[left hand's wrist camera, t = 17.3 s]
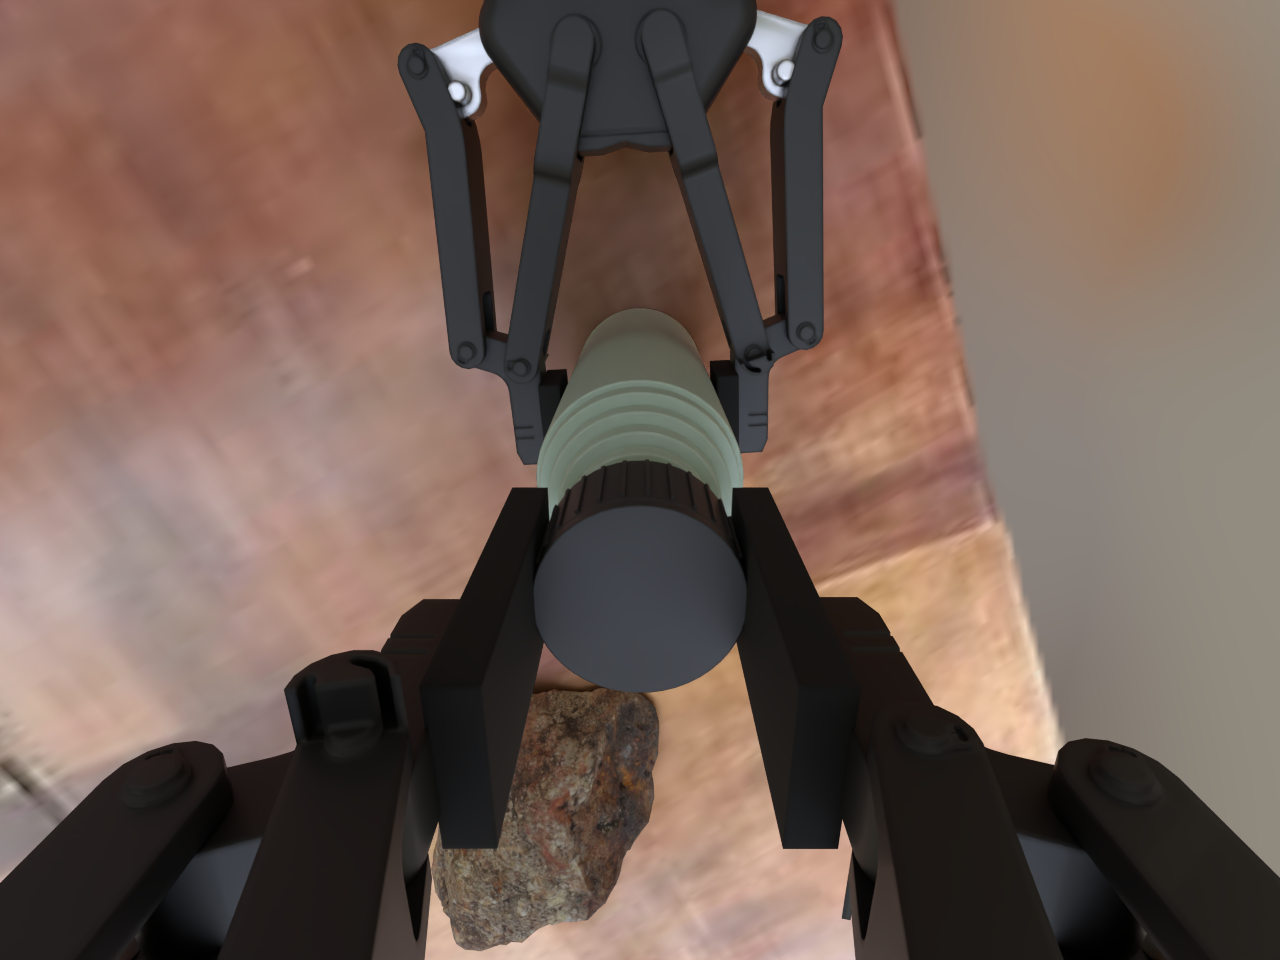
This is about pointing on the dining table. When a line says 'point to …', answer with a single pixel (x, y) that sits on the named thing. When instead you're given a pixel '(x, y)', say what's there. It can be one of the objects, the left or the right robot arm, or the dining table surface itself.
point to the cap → (640, 578)
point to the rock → (557, 820)
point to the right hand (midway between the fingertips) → (647, 529)
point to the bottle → (639, 409)
